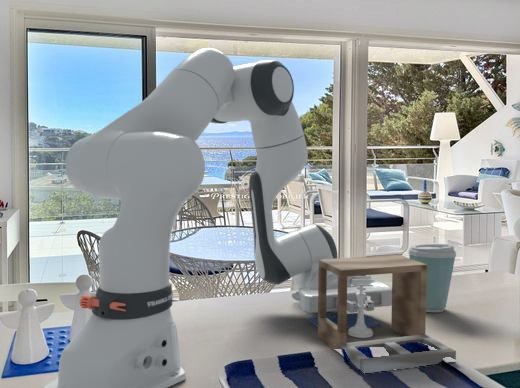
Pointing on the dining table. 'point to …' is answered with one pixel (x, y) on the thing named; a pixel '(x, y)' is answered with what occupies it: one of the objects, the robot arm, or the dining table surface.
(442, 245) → the disposable coffee cup
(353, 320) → the mat
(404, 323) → the tunnel
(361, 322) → the chess piece
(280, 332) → the dining table surface
